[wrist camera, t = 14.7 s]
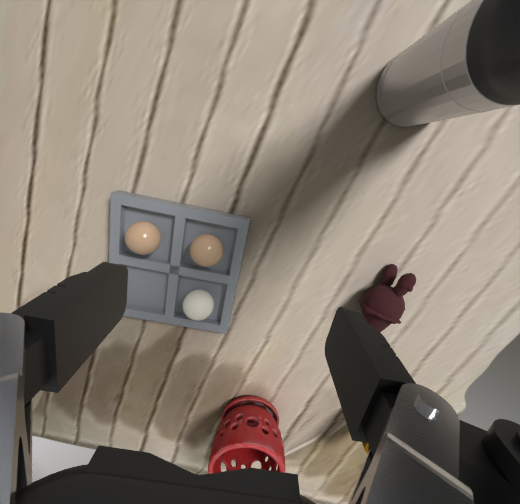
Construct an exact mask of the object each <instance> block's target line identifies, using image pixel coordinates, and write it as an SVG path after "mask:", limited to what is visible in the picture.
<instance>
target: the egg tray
mask: <svg viewBox="0 0 520 504" xmlns="http://www.w3.org/2000/svg"><path fill="white" fill-rule="evenodd" d="M138 221H147V222H150V223H152V224H154V225H155V226H156V227H157V228H158V229H159V231H160V233H161V243H160V245H159V247H158V248H157V250H155V251H154V252H152V253H150V254H146V255H140V254H136V253H134V252H132V251H131V250H130V249H129V248H128V247H127V245H126V243H125V233H126V230H127V229H128V227H129V226H130V225H132V224H133V223H135V222H138ZM249 223H250V218H249V217H244V216H240V215H235V214H230V213H225V212H220V211H215V210H211V209H206V208H201V207H196V206H191V205H186V204H182V203H177V202H172V201H167V200H162V199H158V198H153V197H148V196H143V195H138V194H133V193H129V192H124V191H115V192H111V201H110V240H109V263H114V264H119V265H124V266H126V267H127V268H128V285H127V304H126V309H125V312H124V314H123V316H128V317H133V318H139V319H145V320H150V321H156V322H161V323H167V324H173V325H178V326H184V327H190V328H195V329H201V330H206V331H212V332H218V333H223V334H227V332H228V327H229V322H230V317H231V312H232V307H233V303H234V298H235V293H236V288H237V283H238V278H239V273H240V268H241V263H242V258H243V253H244V248H245V243H246V238H247V233H248V228H249ZM202 234H211V235H214V236H216V237H217V238H218V239H219V240H220V241H221V243H222V245H223V256H222V258H221V260H220V261H219V262H218V263H217V264H216V265H214V266H211V267H203V266H200V265H198V264H196V263H195V262H194V261H193V260H192V258H191V255H190V245H191V243H192V241H193V240H194V239H195V238H196V237H197V236H199V235H202ZM197 289H201V290H205V291H207V292H208V293H210V294H211V296H212V297H213V300H214V309H213V311H212V313H211V314H210V316H209V317H207V318H206V319H204V320H200V321H195V320H192V319H190V318H188V317H187V316H186V315H185V313H184V311H183V300H184V298H185V296H186V295H187V294H188V293H189V292H191V291H193V290H197Z"/></svg>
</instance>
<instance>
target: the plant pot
mask: <svg viewBox="0 0 520 504" xmlns="http://www.w3.org/2000/svg"><path fill="white" fill-rule="evenodd" d="M278 425H279V416H278V413H277V411H276V409H275V408H274V406H273V405H272V404H271V403H270V402H268V401H267V400H265V399H263V398H260V397H256V396H243V397H240V398H237V399H235V400H233V401H231V402H230V403H229V404H228V405H227V406H226V407H225V409H224V411H223V414H222V422H221V424H220V426H219V428H218V431H217V433H216V436H215V439H214V442H213V445H212V449H211V454H210V459H209V465H208V472H209V474H211V473H218V472H221V462H224V464H225V465H226V470H227V471H232V470H238V469H241V465H245V466H246V468H251V465H252V463H253V462H255V461H260V462H261V466H262V467H261V469H263V470H269V468H270V467H271V471H276V466H277V464H278V469H277V471H276V472H283V473H285V456H284V447H283V441H282V438H281V433H280V430H279V427H278ZM267 456H268V461H267V462H265V458H266V457H267ZM232 460H234V461H235V462H236V467H232V465H231V461H232Z"/></svg>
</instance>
